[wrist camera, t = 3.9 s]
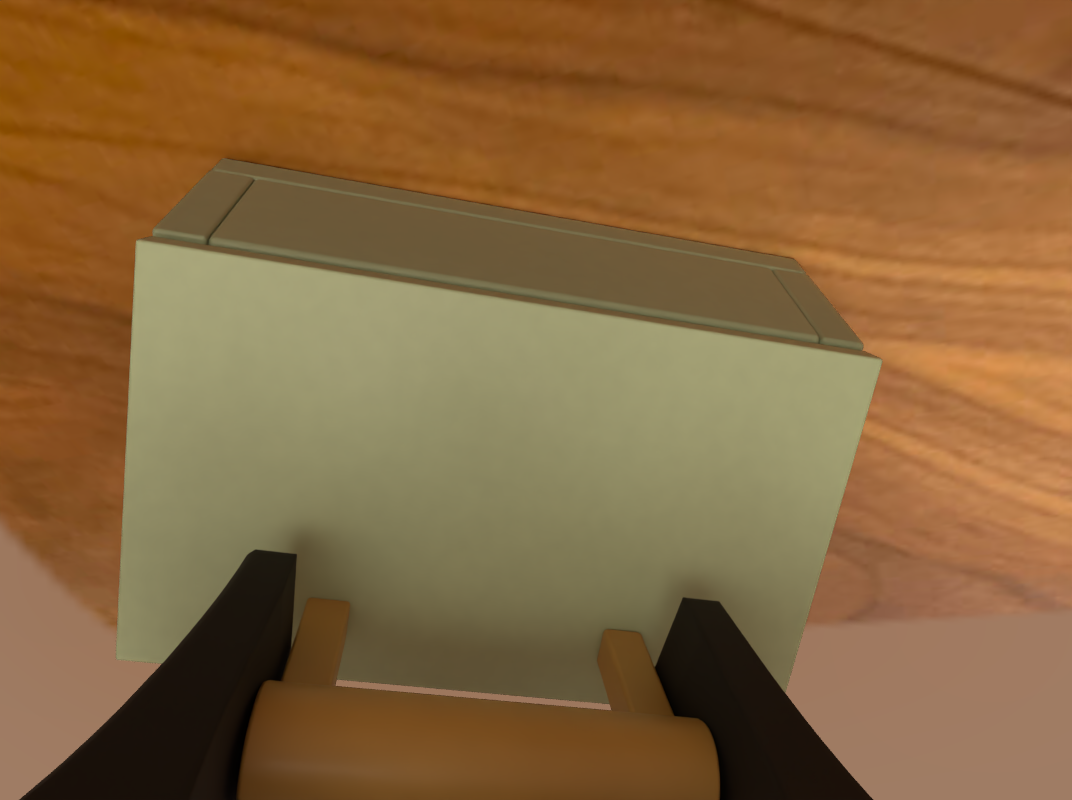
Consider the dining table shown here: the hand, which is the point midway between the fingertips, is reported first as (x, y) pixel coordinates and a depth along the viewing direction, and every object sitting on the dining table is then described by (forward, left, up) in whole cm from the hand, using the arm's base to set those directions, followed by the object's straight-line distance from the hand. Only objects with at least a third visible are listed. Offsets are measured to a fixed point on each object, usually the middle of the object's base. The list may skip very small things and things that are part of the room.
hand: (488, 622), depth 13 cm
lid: (+1, 0, -2) cm, 2 cm away
